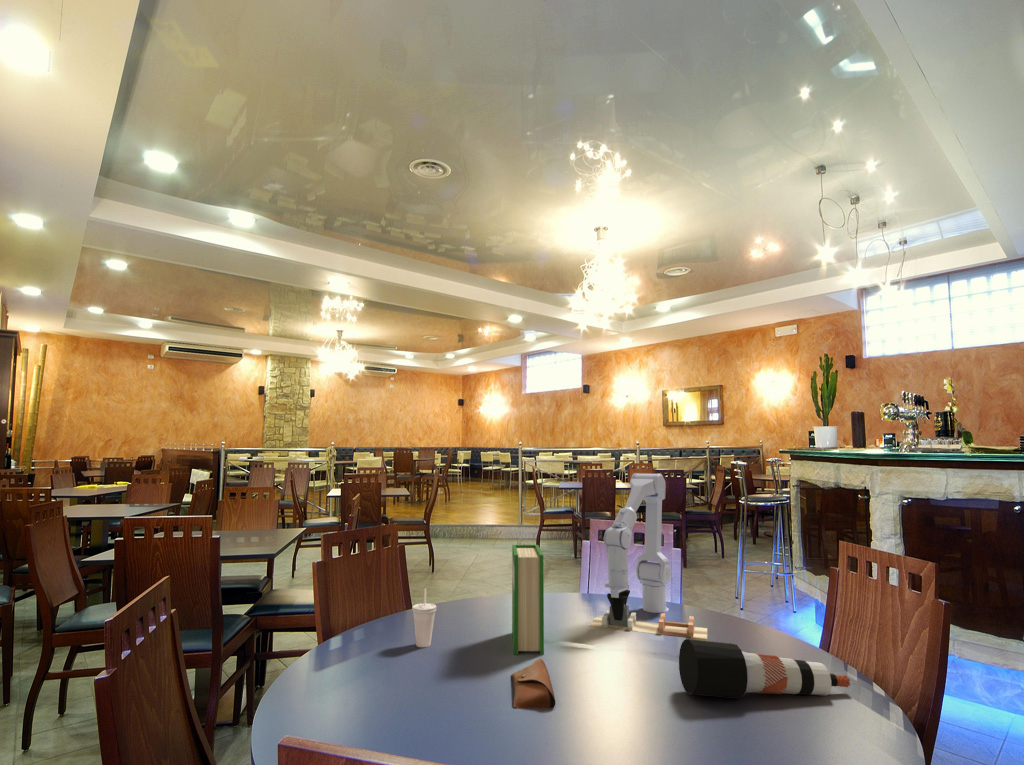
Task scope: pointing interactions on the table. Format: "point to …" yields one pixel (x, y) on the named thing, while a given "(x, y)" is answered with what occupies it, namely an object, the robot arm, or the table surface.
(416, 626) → the smoothie
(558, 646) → the table surface
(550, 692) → the sunglasses case
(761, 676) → the striped tapered cone
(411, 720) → the table surface
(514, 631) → the hardback book
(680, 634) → the wooden board with blocks
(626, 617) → the plug
